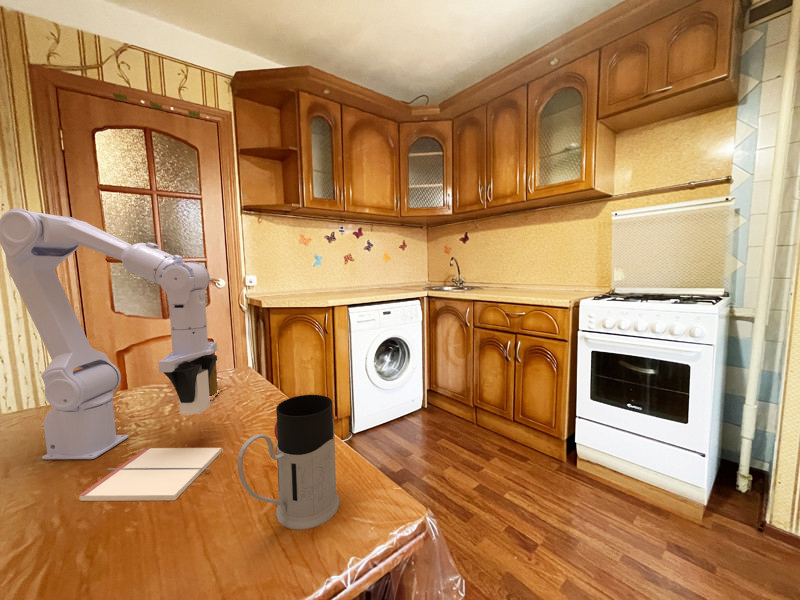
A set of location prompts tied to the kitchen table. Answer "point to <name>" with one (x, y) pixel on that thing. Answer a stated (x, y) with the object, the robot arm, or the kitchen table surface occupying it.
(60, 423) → the robot arm
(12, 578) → the kitchen table surface
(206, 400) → the white bottle
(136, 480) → the notepad
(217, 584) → the kitchen table surface
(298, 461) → the glass holder
